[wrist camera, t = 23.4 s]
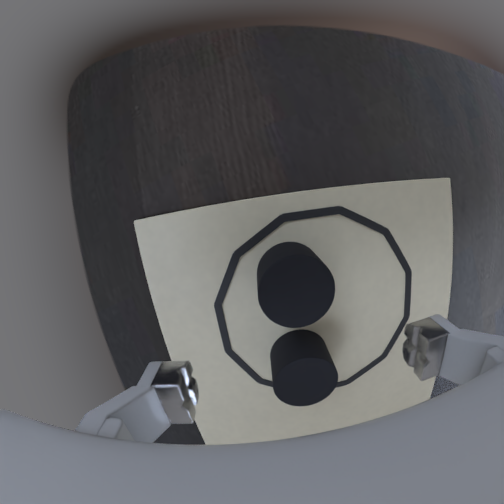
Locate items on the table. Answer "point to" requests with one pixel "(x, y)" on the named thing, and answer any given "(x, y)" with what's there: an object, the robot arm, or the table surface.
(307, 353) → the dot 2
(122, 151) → the table surface
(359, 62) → the table surface
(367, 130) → the table surface
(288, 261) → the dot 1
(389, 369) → the sheet
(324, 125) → the table surface
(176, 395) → the robot arm
